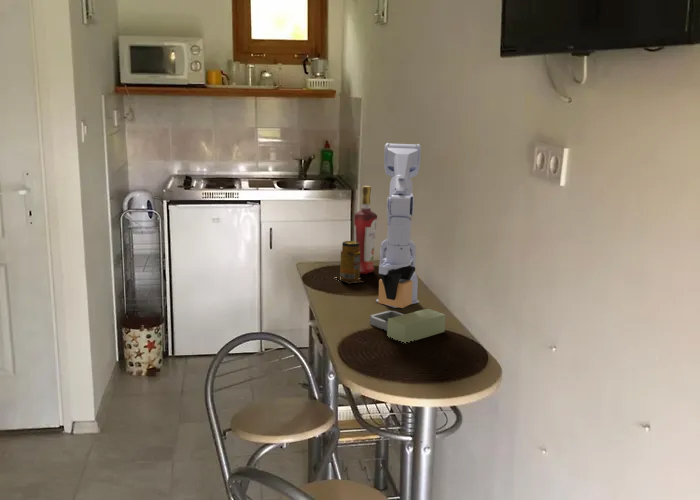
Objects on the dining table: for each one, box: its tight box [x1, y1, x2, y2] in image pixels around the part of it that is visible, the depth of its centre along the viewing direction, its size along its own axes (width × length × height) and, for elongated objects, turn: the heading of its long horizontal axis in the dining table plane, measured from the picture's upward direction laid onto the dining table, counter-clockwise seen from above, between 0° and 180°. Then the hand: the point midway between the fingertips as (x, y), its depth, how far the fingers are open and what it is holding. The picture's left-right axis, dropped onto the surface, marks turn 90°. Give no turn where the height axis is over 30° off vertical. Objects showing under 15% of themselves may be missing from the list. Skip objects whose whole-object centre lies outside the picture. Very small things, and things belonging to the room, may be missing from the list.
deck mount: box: [369, 307, 447, 344], centre depth 177 cm, size 14×16×4 cm
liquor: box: [353, 185, 378, 275], centre depth 227 cm, size 7×7×28 cm
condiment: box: [335, 240, 361, 282], centre depth 219 cm, size 7×8×12 cm
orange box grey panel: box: [377, 278, 413, 309], centre depth 177 cm, size 4×7×6 cm, turn 56°
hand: (396, 296), depth 177 cm, fingers closed on orange box grey panel, 4 cm apart
